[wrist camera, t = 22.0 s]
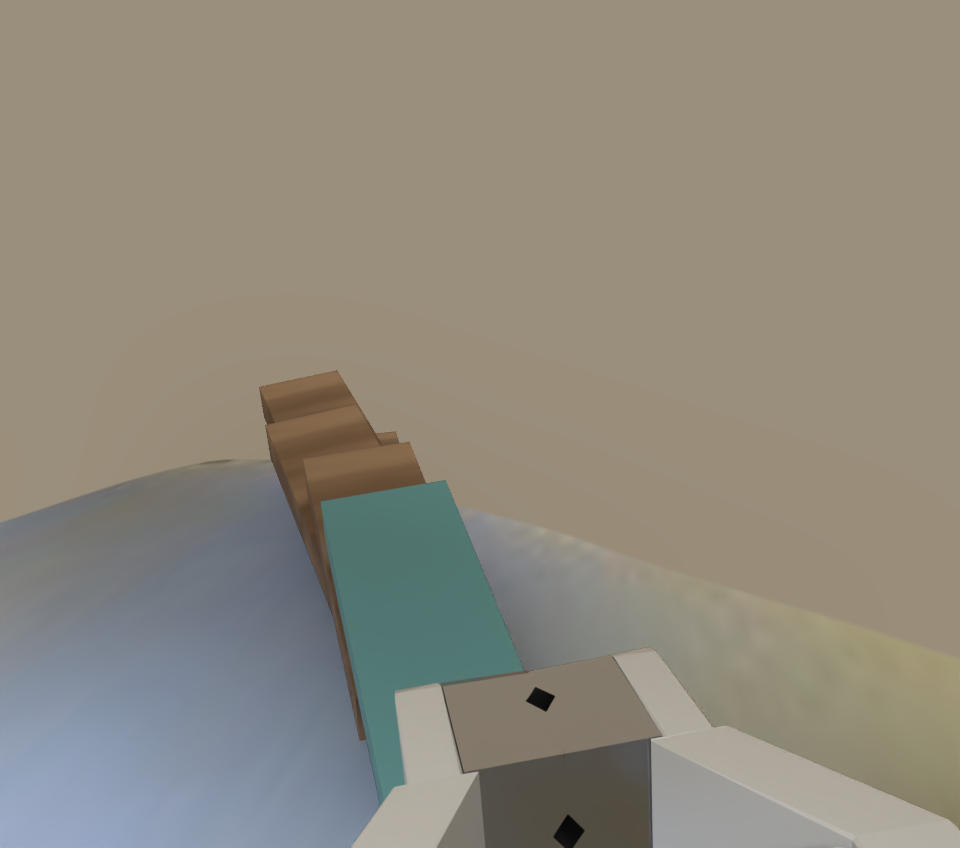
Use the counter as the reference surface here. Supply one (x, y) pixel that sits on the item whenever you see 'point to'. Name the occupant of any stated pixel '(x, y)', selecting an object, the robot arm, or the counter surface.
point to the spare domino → (409, 606)
